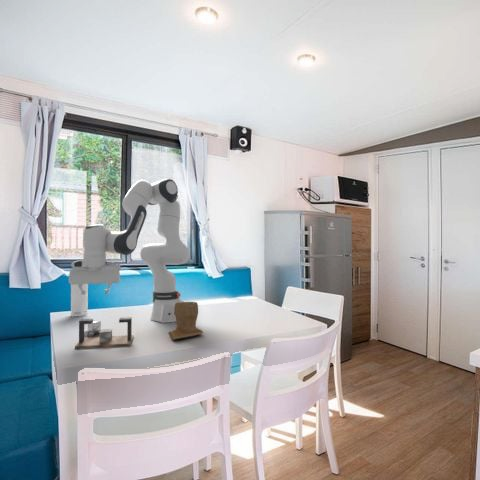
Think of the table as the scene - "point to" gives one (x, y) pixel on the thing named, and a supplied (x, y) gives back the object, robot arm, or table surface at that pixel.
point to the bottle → (79, 300)
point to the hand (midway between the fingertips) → (95, 293)
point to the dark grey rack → (104, 336)
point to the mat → (88, 335)
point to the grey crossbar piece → (94, 328)
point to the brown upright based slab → (185, 320)
